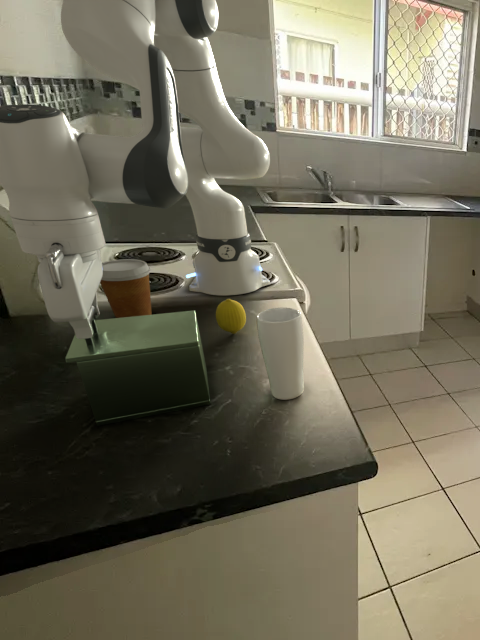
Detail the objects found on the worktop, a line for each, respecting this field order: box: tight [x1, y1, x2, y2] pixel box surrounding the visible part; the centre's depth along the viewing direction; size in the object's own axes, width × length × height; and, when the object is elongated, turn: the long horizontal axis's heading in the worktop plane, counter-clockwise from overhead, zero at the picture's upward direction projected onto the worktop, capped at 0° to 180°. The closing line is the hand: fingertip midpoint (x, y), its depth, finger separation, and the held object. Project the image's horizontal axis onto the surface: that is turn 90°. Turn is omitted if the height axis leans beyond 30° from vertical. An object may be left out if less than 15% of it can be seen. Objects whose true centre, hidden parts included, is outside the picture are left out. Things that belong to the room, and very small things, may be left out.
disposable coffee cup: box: [99, 258, 153, 318], centre depth 102 cm, size 10×10×12 cm
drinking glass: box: [255, 307, 305, 401], centre depth 80 cm, size 7×7×15 cm
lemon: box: [215, 298, 247, 335], centre depth 100 cm, size 6×6×8 cm
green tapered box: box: [76, 316, 211, 427], centre depth 77 cm, size 15×14×11 cm
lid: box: [64, 305, 199, 364], centre depth 74 cm, size 16×14×5 cm
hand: (89, 326), depth 71 cm, fingers closed on lid, 6 cm apart
